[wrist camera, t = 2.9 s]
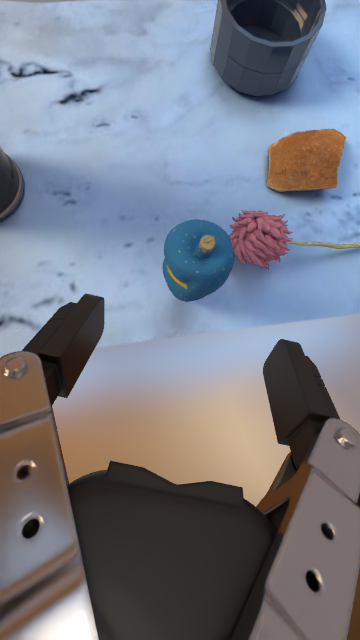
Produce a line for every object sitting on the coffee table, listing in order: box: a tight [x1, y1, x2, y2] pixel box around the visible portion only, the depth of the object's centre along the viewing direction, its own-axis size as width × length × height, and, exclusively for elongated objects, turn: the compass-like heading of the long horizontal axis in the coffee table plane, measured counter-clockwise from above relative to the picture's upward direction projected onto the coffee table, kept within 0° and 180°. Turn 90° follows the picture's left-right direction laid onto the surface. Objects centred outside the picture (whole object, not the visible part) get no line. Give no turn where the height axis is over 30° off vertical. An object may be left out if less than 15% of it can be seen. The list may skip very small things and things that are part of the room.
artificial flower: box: [229, 210, 360, 269], centre depth 28 cm, size 7×7×25 cm
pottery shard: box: [267, 129, 346, 192], centre depth 30 cm, size 10×9×2 cm
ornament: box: [163, 220, 234, 302], centre depth 21 cm, size 5×5×15 cm
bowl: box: [210, 0, 326, 96], centre depth 30 cm, size 12×12×6 cm
